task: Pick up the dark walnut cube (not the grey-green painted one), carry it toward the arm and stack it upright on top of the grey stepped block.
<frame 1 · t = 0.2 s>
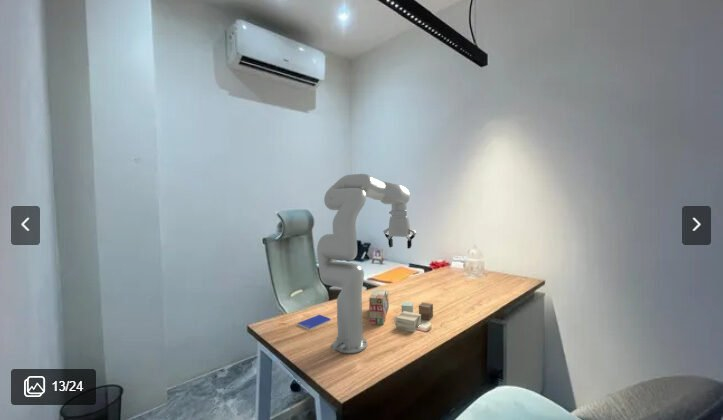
hand: (399, 247, 150), 31 cm above the table, fingers open, 9 cm apart
walnut block: (426, 317, 138), on the table
hard drive: (314, 324, 135), on the table
sage block: (407, 316, 140), on the table
grey stepped block: (409, 327, 129), on the table
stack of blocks: (379, 315, 142), on the table
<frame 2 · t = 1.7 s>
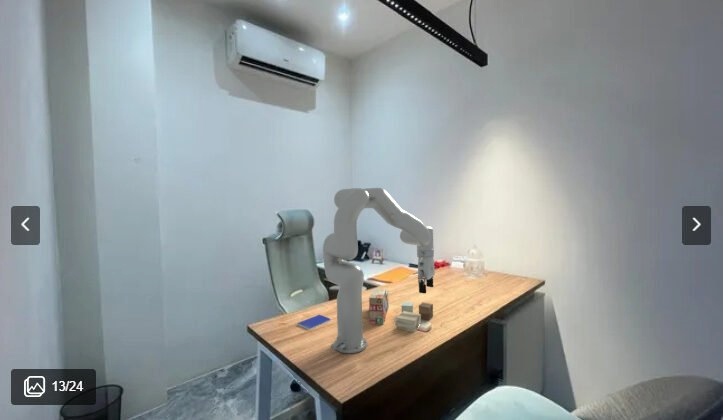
hand: (426, 289, 138), 13 cm above the table, fingers open, 9 cm apart
nothing on the table moved.
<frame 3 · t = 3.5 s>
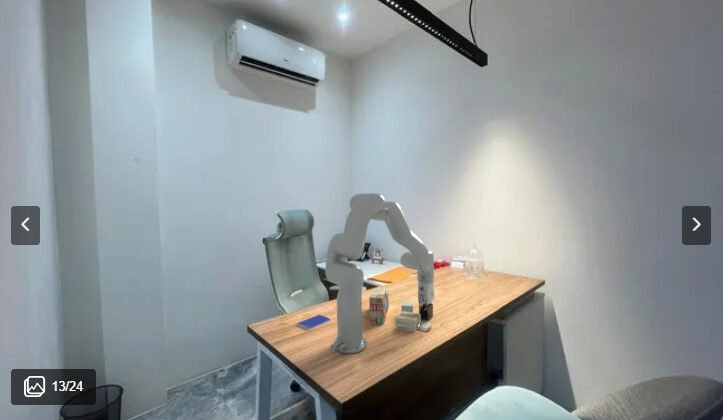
hand: (426, 315, 138), 1 cm above the table, fingers closed on walnut block, 5 cm apart
walnut block: (426, 317, 138), on the table, touching gripper
everything else where it was.
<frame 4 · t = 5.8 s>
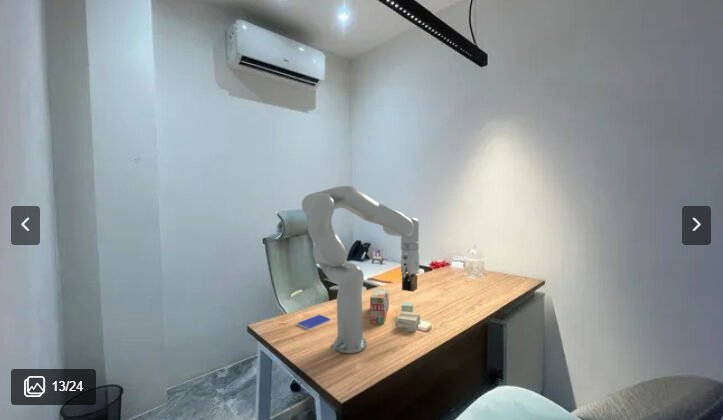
hand: (409, 287, 129), 17 cm above the table, fingers closed on walnut block, 5 cm apart
walnut block: (409, 289, 129), point 16 cm above the table, touching gripper
everything else where it was.
when the fingers open (7 cm above the table, at t = 8.4 s): walnut block drops 1 cm, point 5 cm above the table.
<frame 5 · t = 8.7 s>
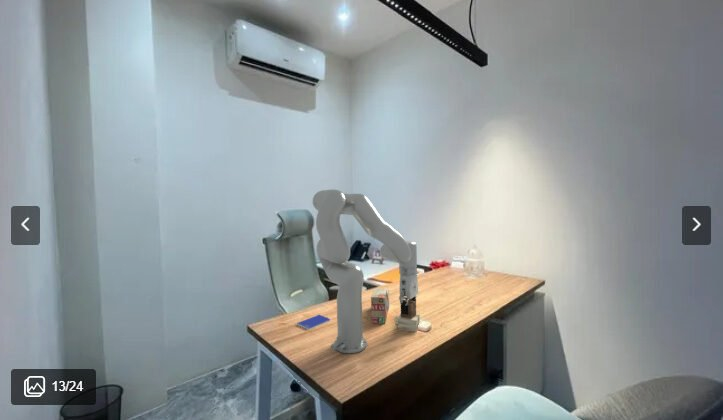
hand: (408, 310, 129), 7 cm above the table, fingers open, 8 cm apart
walnut block: (408, 315, 129), point 5 cm above the table
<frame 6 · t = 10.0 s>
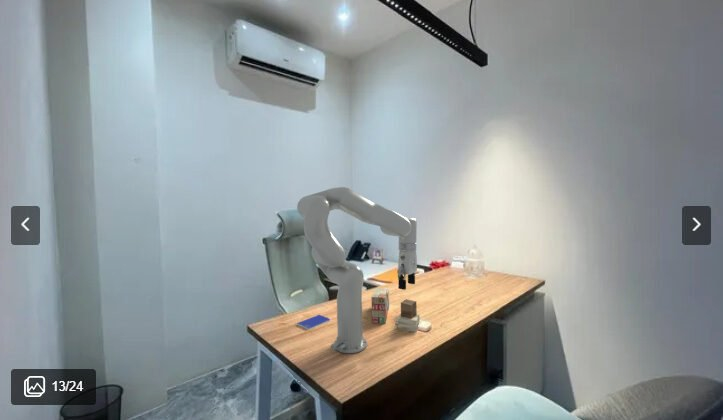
hand: (406, 286, 128), 18 cm above the table, fingers open, 9 cm apart
walnut block: (408, 315, 129), point 5 cm above the table, touching grey stepped block
grey stepped block: (409, 327, 129), on the table, touching walnut block
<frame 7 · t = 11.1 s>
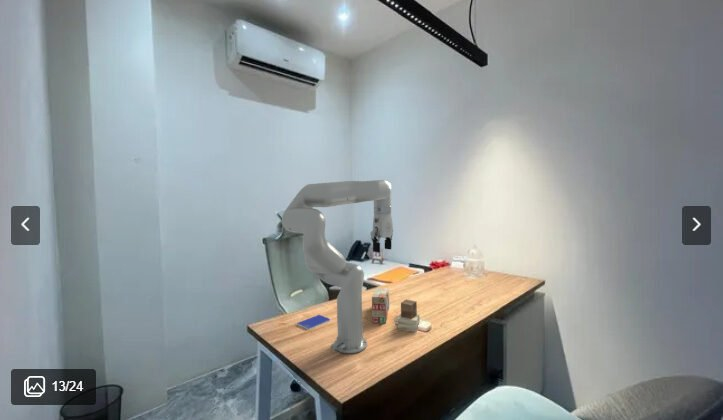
hand: (382, 250, 129), 33 cm above the table, fingers open, 9 cm apart
walnut block: (408, 315, 129), point 5 cm above the table
grey stepped block: (409, 327, 129), on the table
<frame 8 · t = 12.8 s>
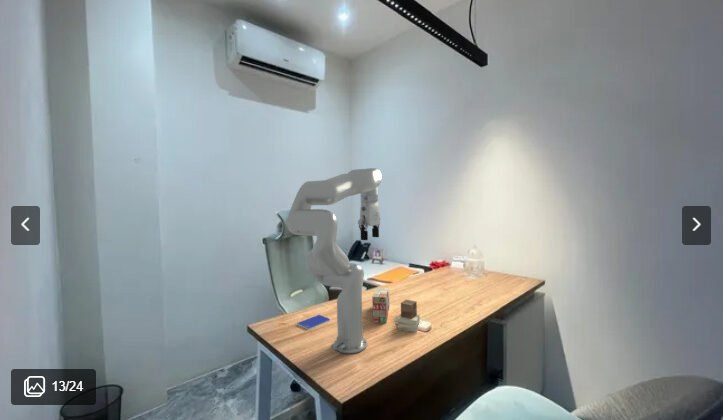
hand: (370, 238, 130), 38 cm above the table, fingers open, 9 cm apart
walnut block: (408, 315, 129), point 5 cm above the table, touching grey stepped block
grey stepped block: (409, 327, 129), on the table, touching walnut block
at the end: walnut block 0.2 cm off-centre on the grey stepped block, point 5.0 cm above the grey stepped block's base; walnut block tilted 0°; the gripper is holding nothing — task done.
